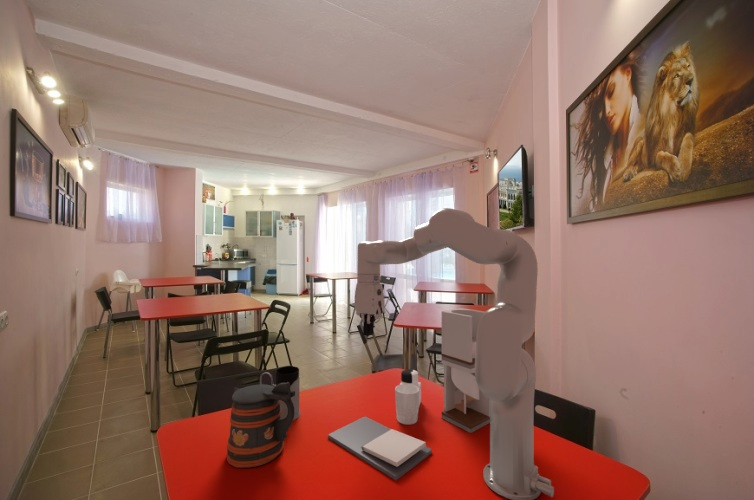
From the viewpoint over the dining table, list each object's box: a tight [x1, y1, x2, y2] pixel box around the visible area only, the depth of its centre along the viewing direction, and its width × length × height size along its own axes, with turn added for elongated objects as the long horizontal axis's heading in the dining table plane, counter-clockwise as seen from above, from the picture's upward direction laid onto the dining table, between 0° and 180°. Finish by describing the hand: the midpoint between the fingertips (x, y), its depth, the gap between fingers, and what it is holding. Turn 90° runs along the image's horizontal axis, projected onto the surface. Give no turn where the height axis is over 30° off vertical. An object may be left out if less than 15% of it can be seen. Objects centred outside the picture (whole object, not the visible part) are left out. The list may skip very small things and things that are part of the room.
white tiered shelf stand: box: [441, 307, 490, 434], centre depth 106 cm, size 11×11×35 cm
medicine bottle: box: [399, 368, 422, 409], centre depth 117 cm, size 7×7×12 cm
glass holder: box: [259, 365, 302, 421], centre depth 109 cm, size 9×14×15 cm, turn 81°
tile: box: [361, 428, 427, 467], centre depth 88 cm, size 13×12×1 cm
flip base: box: [327, 416, 433, 481], centre depth 92 cm, size 26×15×1 cm, turn 46°
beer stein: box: [226, 382, 295, 469], centre depth 88 cm, size 19×15×20 cm
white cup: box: [394, 384, 420, 426], centre depth 106 cm, size 8×8×10 cm
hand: (368, 334), depth 108 cm, fingers closed
